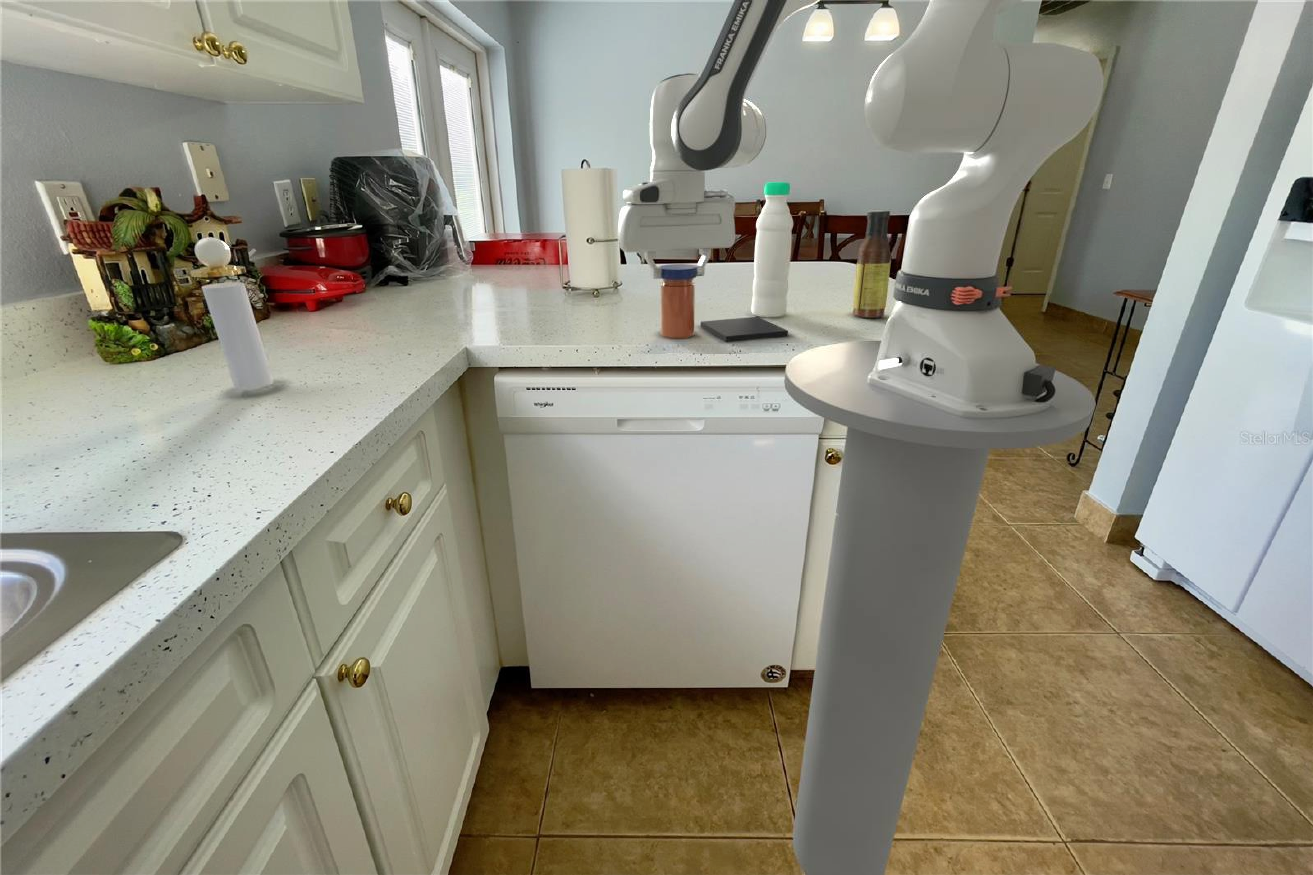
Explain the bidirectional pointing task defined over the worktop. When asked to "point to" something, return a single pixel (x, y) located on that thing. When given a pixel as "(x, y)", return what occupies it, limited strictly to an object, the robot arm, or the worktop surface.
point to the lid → (679, 271)
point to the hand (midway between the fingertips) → (677, 277)
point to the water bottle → (772, 252)
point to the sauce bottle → (873, 268)
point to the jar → (677, 308)
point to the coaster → (743, 329)
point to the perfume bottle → (232, 317)
